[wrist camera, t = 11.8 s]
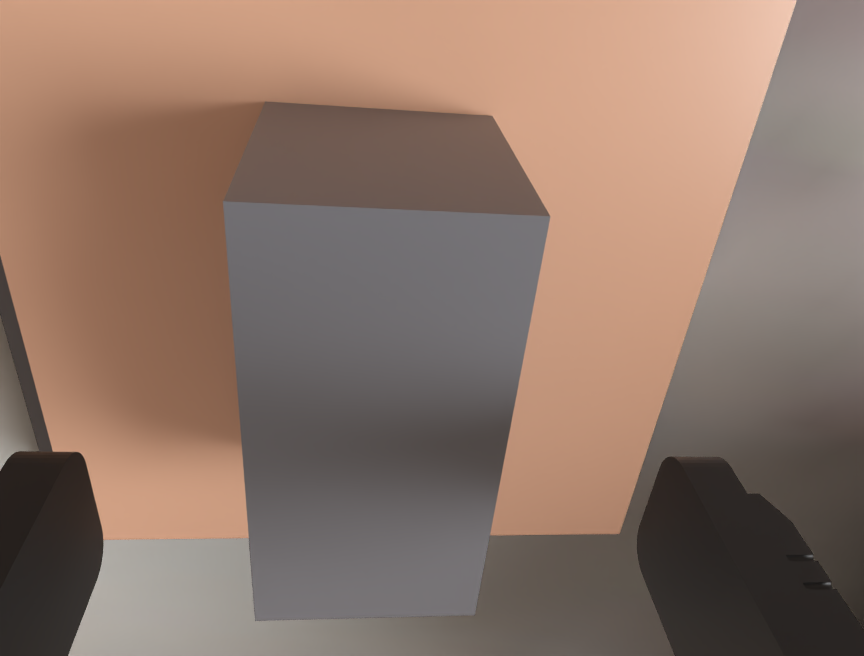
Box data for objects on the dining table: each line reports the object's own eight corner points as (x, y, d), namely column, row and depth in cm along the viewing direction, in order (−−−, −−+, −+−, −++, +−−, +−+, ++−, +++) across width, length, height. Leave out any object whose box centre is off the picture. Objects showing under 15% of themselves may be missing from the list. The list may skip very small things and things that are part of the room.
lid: (744, -58, 14) (1032, -14, 8) (594, 471, 21) (684, 696, 15) (-27, -134, 12) (-392, -148, 6) (105, 471, 19) (-3, 723, 14)
